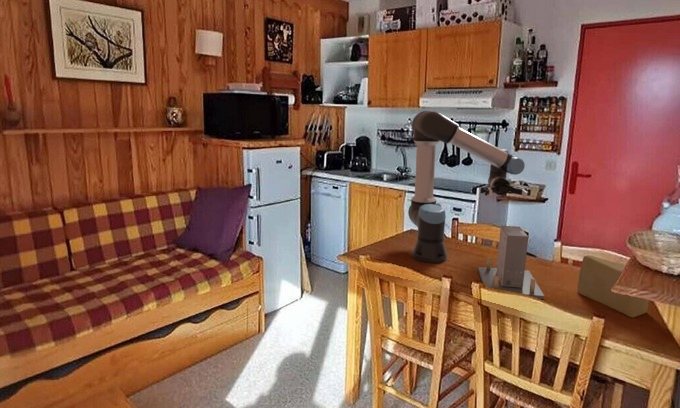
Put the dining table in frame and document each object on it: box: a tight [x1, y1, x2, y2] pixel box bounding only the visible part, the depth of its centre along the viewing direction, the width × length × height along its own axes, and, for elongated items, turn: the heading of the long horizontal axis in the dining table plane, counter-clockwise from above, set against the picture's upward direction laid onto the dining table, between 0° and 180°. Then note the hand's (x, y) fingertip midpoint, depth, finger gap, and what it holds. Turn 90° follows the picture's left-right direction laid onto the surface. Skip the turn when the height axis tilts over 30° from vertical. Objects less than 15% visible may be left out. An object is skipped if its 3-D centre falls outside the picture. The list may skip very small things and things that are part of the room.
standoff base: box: [477, 257, 545, 300], centre depth 175 cm, size 20×26×6 cm
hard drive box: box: [496, 225, 529, 288], centre depth 174 cm, size 16×8×20 cm, turn 170°
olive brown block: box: [576, 254, 650, 318], centre depth 158 cm, size 22×10×15 cm, turn 29°
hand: (508, 194), depth 185 cm, fingers open, 13 cm apart
